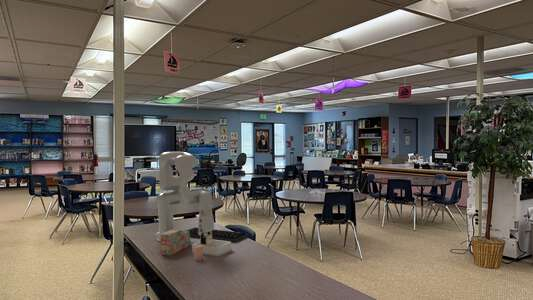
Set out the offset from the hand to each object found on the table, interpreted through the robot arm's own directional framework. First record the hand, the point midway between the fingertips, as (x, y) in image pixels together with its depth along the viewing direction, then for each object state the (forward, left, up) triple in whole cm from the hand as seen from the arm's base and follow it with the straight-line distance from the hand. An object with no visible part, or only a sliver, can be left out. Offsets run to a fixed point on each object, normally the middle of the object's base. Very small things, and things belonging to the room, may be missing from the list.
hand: (206, 242), depth 217 cm
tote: (+4, 0, -5) cm, 6 cm away
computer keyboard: (-16, +29, -6) cm, 34 cm away
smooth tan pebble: (+6, -15, -5) cm, 17 cm away
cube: (0, 0, -1) cm, 1 cm away
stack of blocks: (-18, -6, -5) cm, 20 cm away
